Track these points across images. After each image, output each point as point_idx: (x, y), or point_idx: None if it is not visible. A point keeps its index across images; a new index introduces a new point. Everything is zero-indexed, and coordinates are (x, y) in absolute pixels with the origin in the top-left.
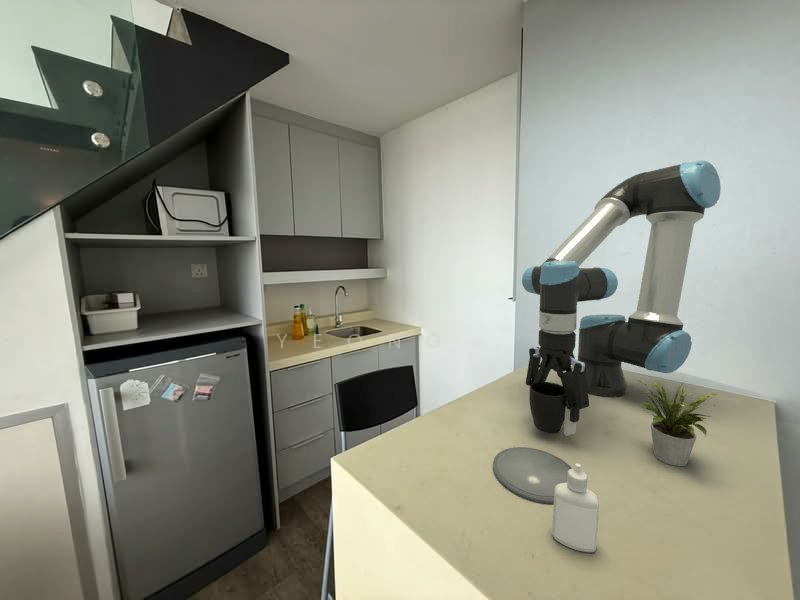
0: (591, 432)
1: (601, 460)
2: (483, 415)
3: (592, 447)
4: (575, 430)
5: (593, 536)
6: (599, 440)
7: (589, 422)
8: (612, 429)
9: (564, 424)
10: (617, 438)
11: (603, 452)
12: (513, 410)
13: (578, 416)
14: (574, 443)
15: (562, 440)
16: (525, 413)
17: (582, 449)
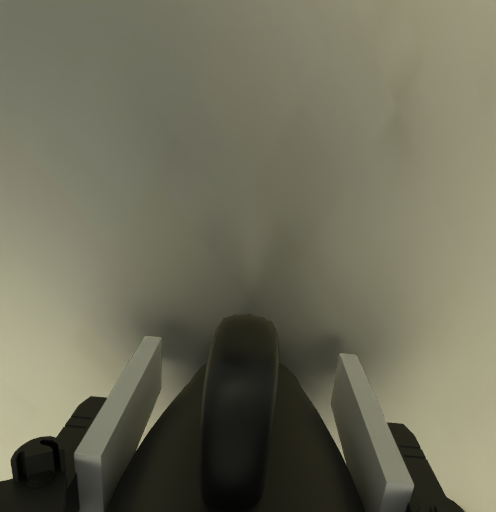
0: (349, 194)
1: (480, 367)
2: (4, 473)
3: (416, 313)
4: (360, 363)
5: None
6: (409, 233)
7: (286, 95)
8: (402, 54)
9: (341, 442)
10: (459, 133)
11: (463, 310)
12: (10, 335)
13: (421, 458)
14: (354, 348)
15: (312, 369)
16: (58, 310)
17: (397, 360)
